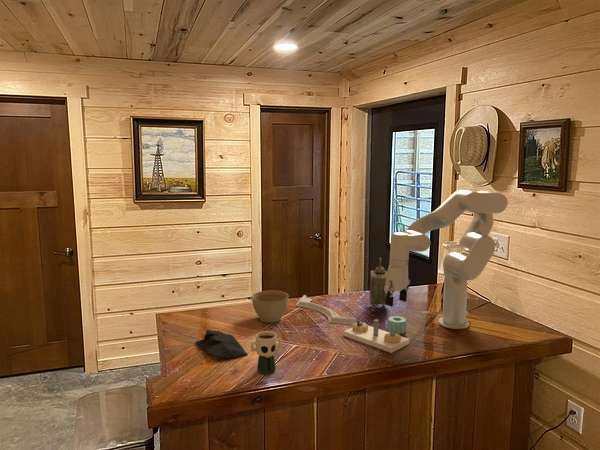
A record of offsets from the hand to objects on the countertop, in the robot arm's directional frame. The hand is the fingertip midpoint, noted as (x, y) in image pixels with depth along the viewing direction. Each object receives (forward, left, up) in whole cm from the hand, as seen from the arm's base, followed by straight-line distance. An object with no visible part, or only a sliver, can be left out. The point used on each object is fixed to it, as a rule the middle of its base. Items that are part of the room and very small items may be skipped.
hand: (396, 303), depth 195 cm
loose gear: (-1, 0, -12) cm, 12 cm away
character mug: (+62, -10, -12) cm, 64 cm away
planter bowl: (+28, -47, -12) cm, 56 cm away
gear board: (+13, 0, -12) cm, 18 cm away
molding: (+3, -37, -13) cm, 39 cm away
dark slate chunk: (+62, -36, -13) cm, 73 cm away
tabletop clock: (-18, -21, -12) cm, 30 cm away
